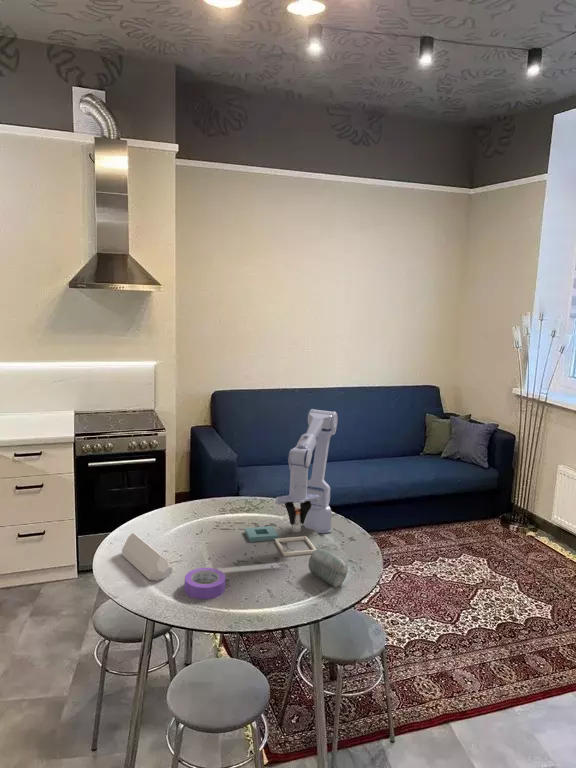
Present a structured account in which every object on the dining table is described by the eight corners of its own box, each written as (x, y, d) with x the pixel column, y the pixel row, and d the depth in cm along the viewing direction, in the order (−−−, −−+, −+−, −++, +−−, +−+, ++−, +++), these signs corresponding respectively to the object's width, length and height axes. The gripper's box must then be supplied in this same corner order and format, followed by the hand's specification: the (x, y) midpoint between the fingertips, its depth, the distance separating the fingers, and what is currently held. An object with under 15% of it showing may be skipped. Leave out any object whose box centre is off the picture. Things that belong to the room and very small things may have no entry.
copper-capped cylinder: (298, 527, 196) (299, 507, 195) (302, 531, 194) (303, 511, 193) (290, 528, 195) (291, 508, 194) (294, 532, 192) (295, 512, 191)
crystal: (113, 544, 187) (146, 574, 168) (131, 529, 190) (166, 557, 172) (124, 560, 190) (158, 591, 172) (142, 545, 193) (177, 574, 175)
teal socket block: (272, 534, 208) (272, 526, 208) (278, 543, 201) (278, 535, 200) (244, 536, 206) (245, 528, 205) (249, 545, 198) (250, 537, 198)
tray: (306, 542, 202) (306, 536, 202) (316, 557, 192) (317, 550, 191) (274, 545, 199) (275, 538, 199) (283, 560, 189) (284, 553, 188)
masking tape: (230, 582, 173) (230, 570, 173) (217, 602, 162) (217, 589, 162) (193, 576, 176) (193, 565, 175) (177, 596, 165) (178, 583, 164)
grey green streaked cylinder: (297, 562, 180) (315, 536, 179) (317, 569, 186) (335, 544, 185) (319, 592, 169) (338, 565, 168) (340, 598, 175) (359, 572, 174)
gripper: (280, 489, 186) (278, 529, 188) (323, 486, 190) (321, 526, 192) (274, 482, 193) (273, 521, 195) (316, 479, 197) (314, 518, 199)
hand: (296, 523), depth 194 cm, fingers closed on copper-capped cylinder, 3 cm apart
